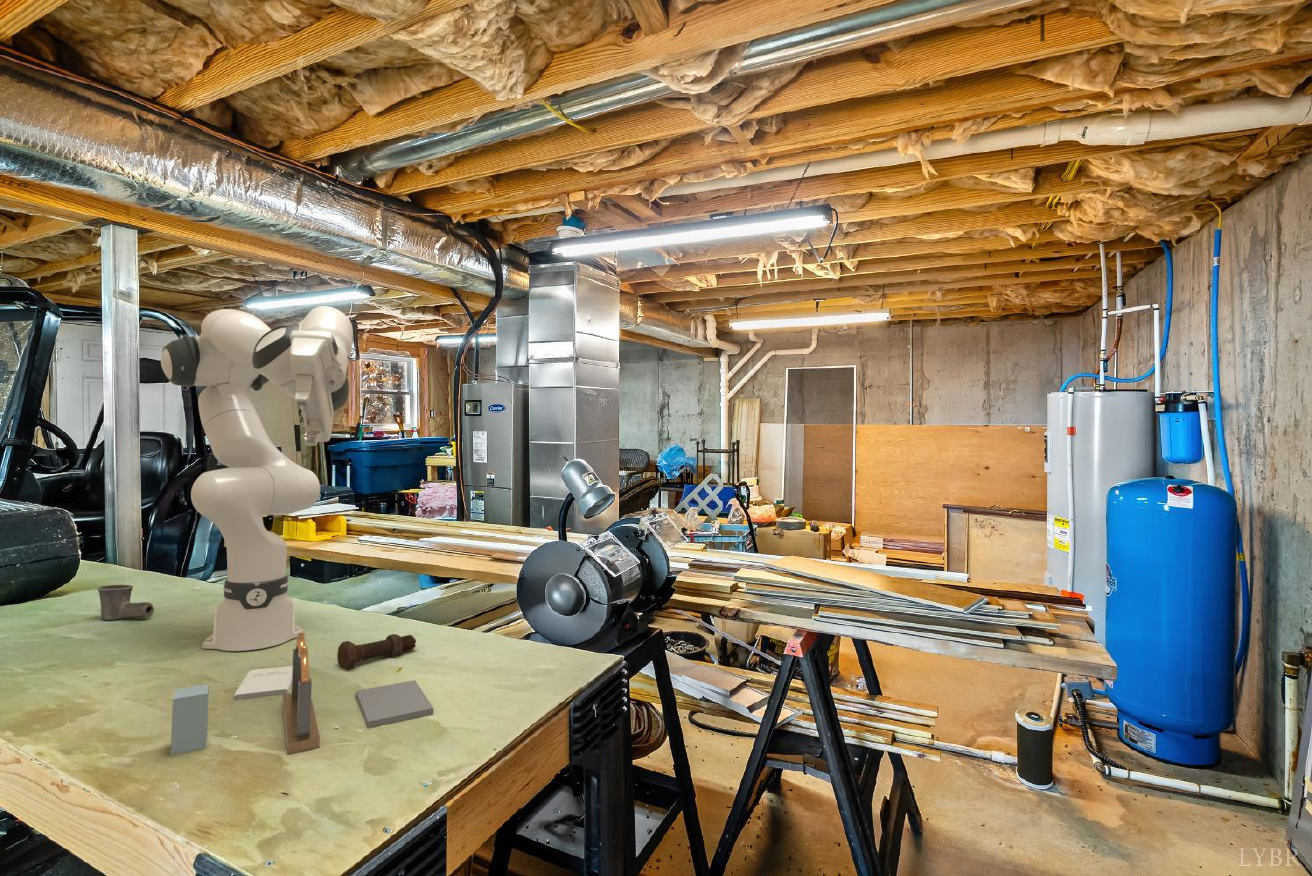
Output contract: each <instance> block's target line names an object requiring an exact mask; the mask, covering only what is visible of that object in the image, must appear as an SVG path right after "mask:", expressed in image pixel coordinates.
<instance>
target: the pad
mask: <svg viewBox="0 0 1312 876" xmlns="http://www.w3.org/2000/svg"><path fill="white" fill-rule="evenodd" d="M355 698H356V701H357V704H358V706H359V708H360V710H361V714H362V716H363V719H364V721H365V723H366V727H367V728H368V729H369V728H375V727H379V726H382V725H387V724H394V723H397V722H402V721H403V722H404V721H407V720H411V719H416V718H417V719H418V718H420V717H421V718H422V717H425V716H430V715H434V706H433V705H432V704H431V702H430V701H429V699H428V697H427V695H426V694H425V693H424V692H423V690H422V689H421V687H420V685H419V684H418V682H417V681H416V680H415V679H414V680H413V679H412V680H409V681H402V682H396V683H391V684H386V685H380V686H374V687H369V688H364V689H358V690H355Z"/></svg>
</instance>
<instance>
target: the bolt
mask: <svg viewBox="0 0 1312 876" xmlns="http://www.w3.org/2000/svg"><path fill="white" fill-rule="evenodd" d="M416 644H417V639H416V638H415V637H414V635H412V634H407V635H404V636H400V635H399V634H395V633H392V634H389V635H387V636H386V638H385V639H383V640H378V641H373V642H368V643H362V644H355V643H354V642H352V641H349V640H345V641H341V643H340V645H339V646H338V647H337V657H336V658H337V659H336V660H337V663H338V666H339V668H341V669H342V670H344V671H345V670H346V671H349V670H354V668H355V666H356V663H360V662H362V661H366V660H367V661H368V660H370V659H376V658H380V657H386V656H387V657H389V658H397V657H400V655H401V654H402V652H403V653H404V652H407V651H412V650H414V649H415V648H416V646H417V645H416Z"/></svg>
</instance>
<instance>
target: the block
mask: <svg viewBox="0 0 1312 876" xmlns="http://www.w3.org/2000/svg"><path fill="white" fill-rule="evenodd" d="M209 695H210V684H209V683H208V684H202V685H201V684H200V685H195V686H188V687H183V688H177V689H175V691H174V694H173V697H172V709H171V710H172V711H171V735H170V737H171V739H170V756H174V755H175V754H176V755H179V754H185V753H190V752H193V751H194V752H195V751H200V750H203V749H205V750H206V749H207V740H208V730H209V729H208V728H209V727H208V724H209V722H208V721H209V700H210V698H209ZM176 755H175V756H176Z"/></svg>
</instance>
